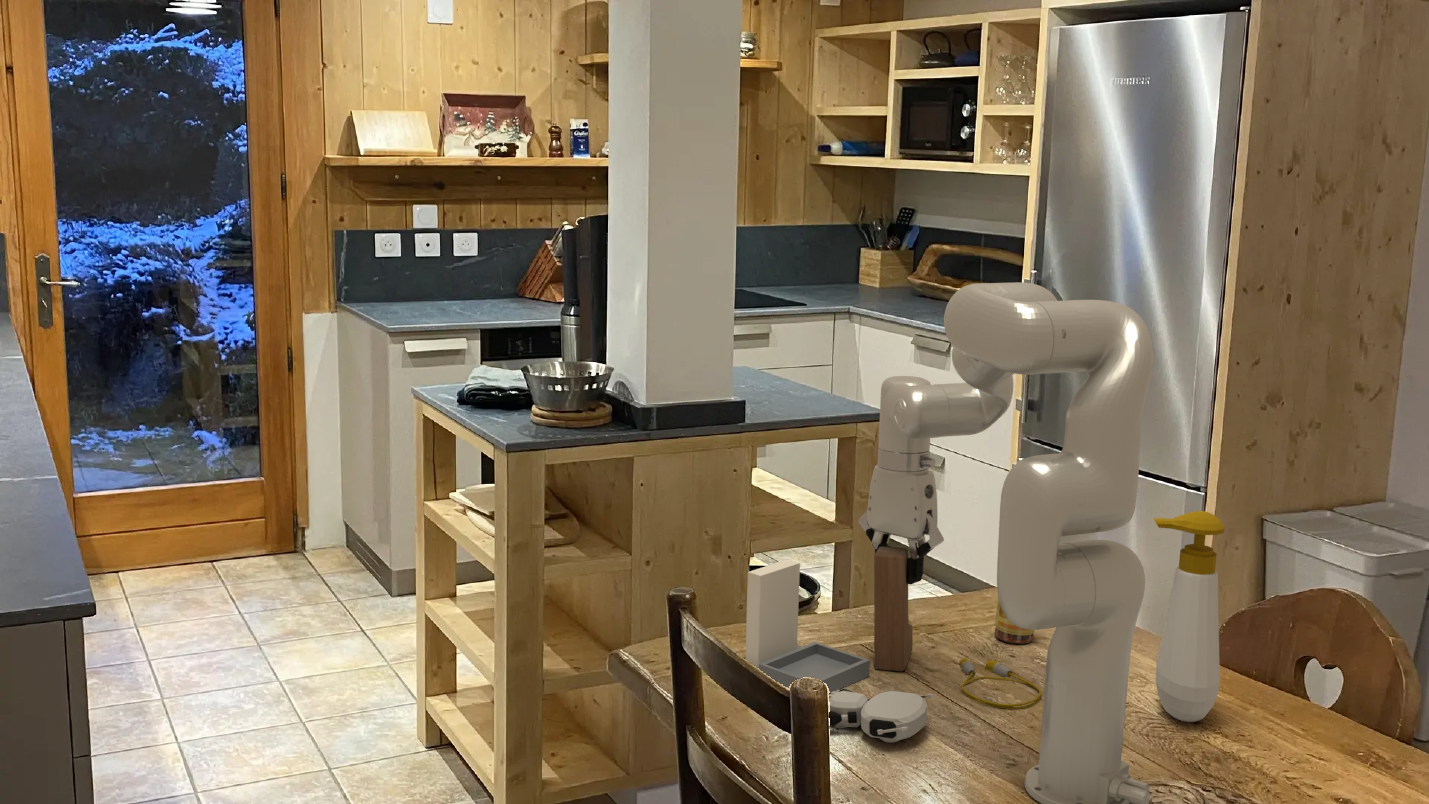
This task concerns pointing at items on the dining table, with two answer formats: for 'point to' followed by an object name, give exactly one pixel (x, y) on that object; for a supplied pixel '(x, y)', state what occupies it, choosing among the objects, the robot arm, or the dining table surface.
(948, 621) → the dining table surface
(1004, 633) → the sauce bottle
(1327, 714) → the dining table surface
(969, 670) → the extension cord
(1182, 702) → the soap bottle
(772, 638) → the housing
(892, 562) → the wooden block
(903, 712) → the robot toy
